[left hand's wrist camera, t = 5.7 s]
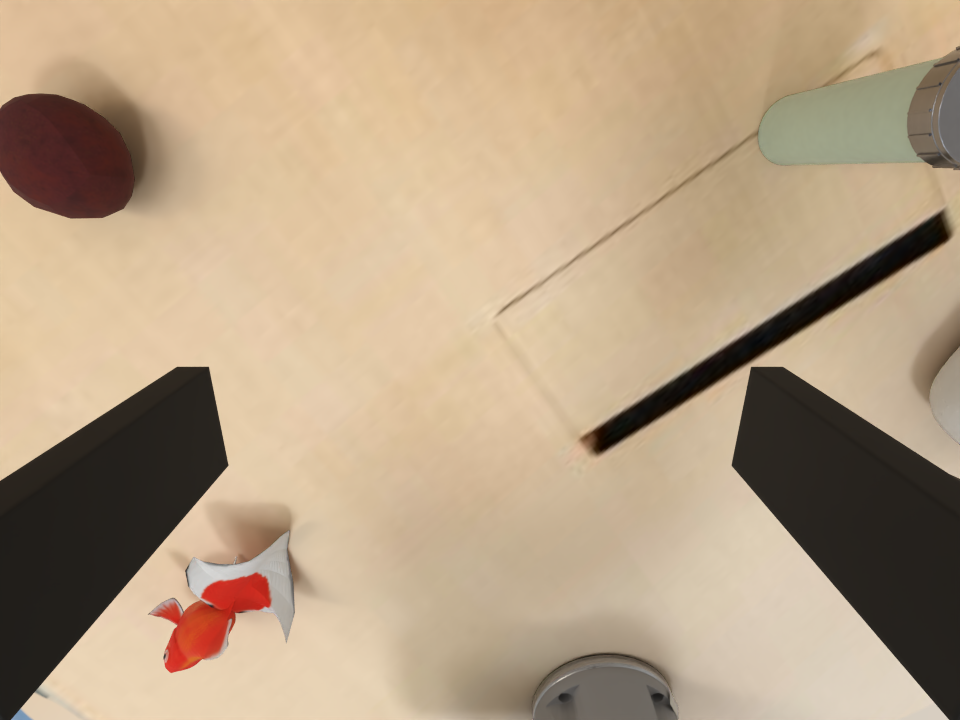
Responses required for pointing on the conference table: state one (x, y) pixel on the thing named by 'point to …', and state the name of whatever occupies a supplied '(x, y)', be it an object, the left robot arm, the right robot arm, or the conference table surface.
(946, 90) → the lid
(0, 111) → the potato
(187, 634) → the fish
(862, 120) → the bottle
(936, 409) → the projector
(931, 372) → the conference table surface
